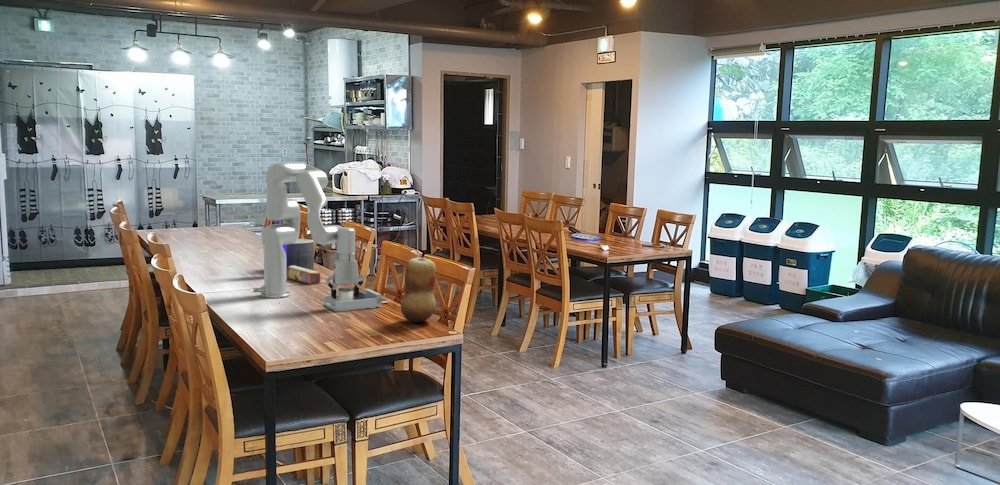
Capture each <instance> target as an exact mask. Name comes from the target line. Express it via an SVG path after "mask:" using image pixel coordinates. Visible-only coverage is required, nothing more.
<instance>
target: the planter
mask: <svg viewBox="0 0 1000 485" xmlns="http://www.w3.org/2000/svg"><path fill="white" fill-rule="evenodd" d="M314 241H315V240H314V239H313V240H312V239H309V238H307V239H306V238H298V240H297V241H296V242H295V243H292V244H287V268H288V267H289V266H298V267H301V268H305V269H309V270H313V269H314V270H315V268H314V265H315V264H314V262H315V261H314V260H315V257H314V256H315V255H314V254H315V253H314V252H315V251H314V248H315V242H314ZM314 270H313V271H314ZM286 274H287V272H286Z"/></svg>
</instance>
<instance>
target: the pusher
mask: <svg viewBox="0 0 1000 485" xmlns="http://www.w3.org/2000/svg"><path fill="white" fill-rule="evenodd" d="M360 299H367V294H366V293H364V291H361V290H359V295H358V297H355V296H354V300H360ZM389 302H390V301H387V300H385V301H384V300H383V301H381V304H386V303H387V304H389Z"/></svg>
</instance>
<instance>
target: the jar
mask: <svg viewBox="0 0 1000 485" xmlns="http://www.w3.org/2000/svg"><path fill="white" fill-rule="evenodd" d="M337 290H338V293H337V295H338V301H349V300H353V293H354V287H351V286H341V287H338V288H337Z"/></svg>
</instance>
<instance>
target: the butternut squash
mask: <svg viewBox="0 0 1000 485" xmlns="http://www.w3.org/2000/svg"><path fill="white" fill-rule="evenodd" d="M404 272H405V273H404V294H403V297H402V299H401V303H400V311H401V314H402V315H403V317H404V318H405V319H406V320H407V321H408V322H410V323H423V322H426V321H427V320H428V319H430V318H431V317H432V316H433V315H434V314H435V312H436V308H437V306H436V305H437V301H436V298H435V294H434V290H435V285H436V281H437V279H436V278H437V276H436V275H437V267H436V263H435V262H434V261H433V260H431V259H428V258H425V257H413V258H411V259H409V260H408V261H407V263H406V266H405V270H404Z"/></svg>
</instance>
